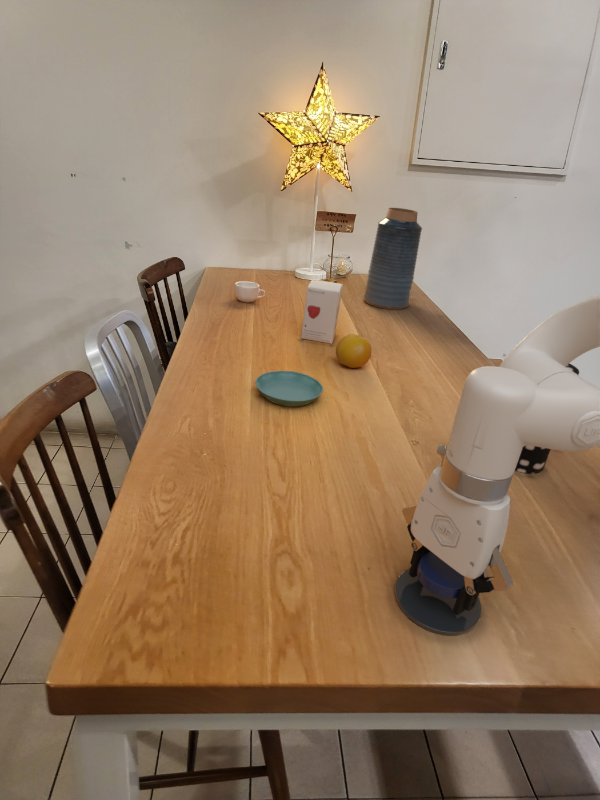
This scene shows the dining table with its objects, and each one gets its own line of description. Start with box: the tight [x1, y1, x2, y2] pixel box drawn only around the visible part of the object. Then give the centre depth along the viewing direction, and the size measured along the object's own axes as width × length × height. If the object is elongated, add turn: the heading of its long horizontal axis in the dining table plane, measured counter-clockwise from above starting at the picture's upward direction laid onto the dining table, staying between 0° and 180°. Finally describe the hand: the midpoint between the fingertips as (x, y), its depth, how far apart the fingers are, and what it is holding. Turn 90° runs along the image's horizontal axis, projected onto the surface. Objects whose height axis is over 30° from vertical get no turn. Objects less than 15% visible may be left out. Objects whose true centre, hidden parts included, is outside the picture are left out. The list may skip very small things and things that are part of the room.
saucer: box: [254, 370, 324, 408], centre depth 117 cm, size 15×15×3 cm
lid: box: [417, 551, 465, 599], centre depth 67 cm, size 6×6×2 cm
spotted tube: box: [515, 363, 580, 475], centre depth 99 cm, size 8×8×20 cm
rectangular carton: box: [300, 278, 344, 344], centre depth 150 cm, size 9×9×15 cm
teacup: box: [234, 280, 266, 304], centre depth 175 cm, size 10×8×5 cm
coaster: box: [394, 567, 483, 637], centre depth 69 cm, size 11×11×1 cm
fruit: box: [335, 333, 372, 369], centre depth 135 cm, size 9×8×8 cm
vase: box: [363, 207, 423, 311], centre depth 184 cm, size 16×16×32 cm
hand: (439, 589), depth 69 cm, fingers closed on lid, 6 cm apart
